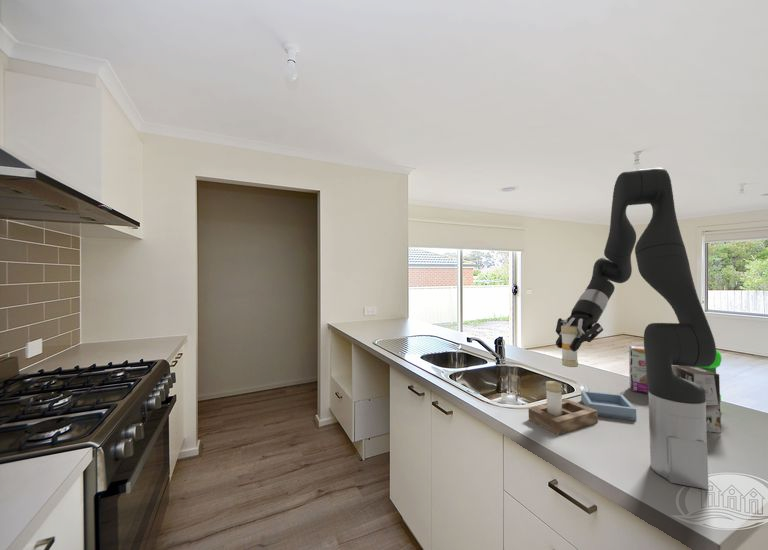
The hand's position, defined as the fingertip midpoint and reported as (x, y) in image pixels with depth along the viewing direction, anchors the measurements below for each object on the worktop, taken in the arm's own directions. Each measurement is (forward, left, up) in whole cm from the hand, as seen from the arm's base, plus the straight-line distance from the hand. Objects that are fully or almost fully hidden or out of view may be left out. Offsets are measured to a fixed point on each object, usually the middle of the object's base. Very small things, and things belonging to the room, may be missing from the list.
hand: (565, 347), depth 94 cm
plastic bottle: (+25, -42, -22) cm, 54 cm away
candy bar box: (+35, -32, -22) cm, 53 cm away
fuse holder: (-1, +1, -22) cm, 22 cm away
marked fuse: (+1, -1, -6) cm, 6 cm away
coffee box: (+9, -34, -22) cm, 42 cm away
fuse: (-4, +4, -22) cm, 23 cm away
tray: (+12, -13, -22) cm, 28 cm away
